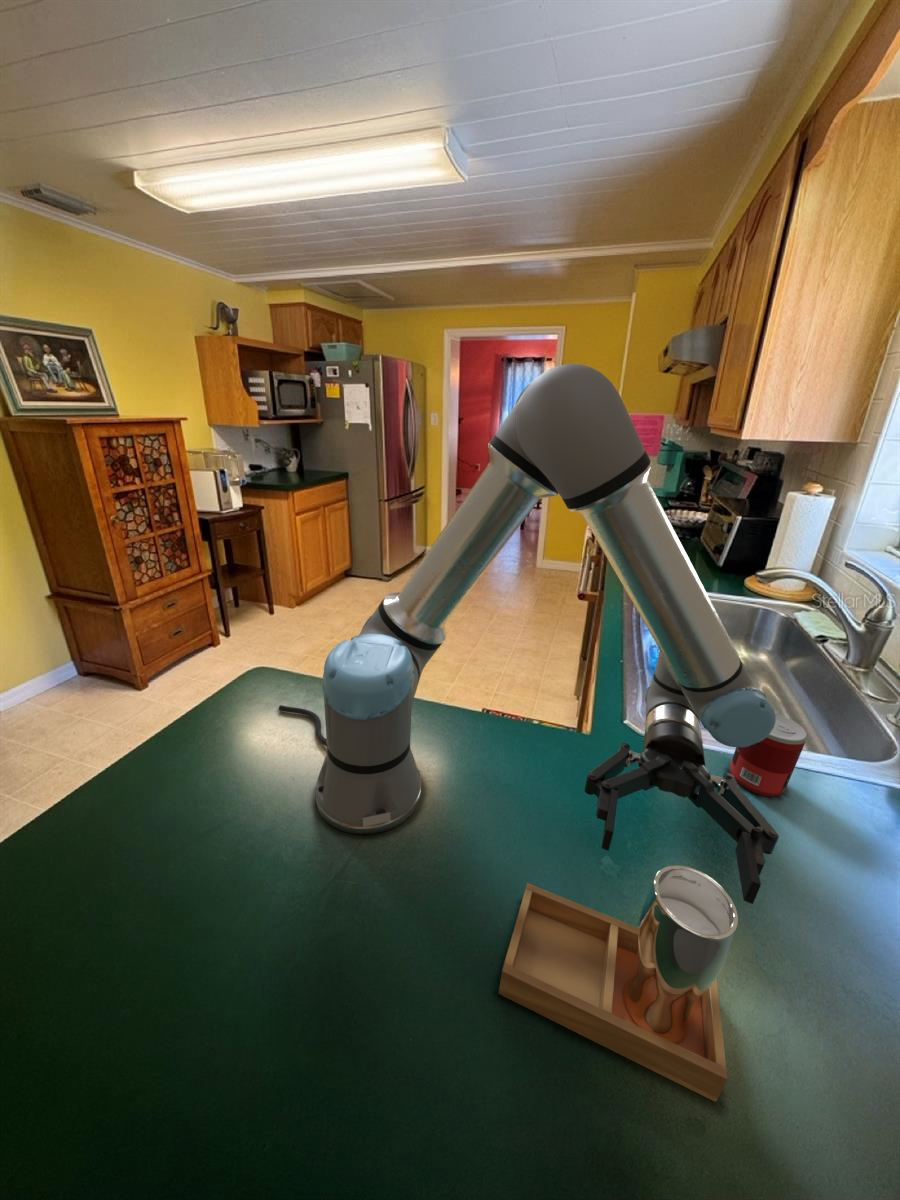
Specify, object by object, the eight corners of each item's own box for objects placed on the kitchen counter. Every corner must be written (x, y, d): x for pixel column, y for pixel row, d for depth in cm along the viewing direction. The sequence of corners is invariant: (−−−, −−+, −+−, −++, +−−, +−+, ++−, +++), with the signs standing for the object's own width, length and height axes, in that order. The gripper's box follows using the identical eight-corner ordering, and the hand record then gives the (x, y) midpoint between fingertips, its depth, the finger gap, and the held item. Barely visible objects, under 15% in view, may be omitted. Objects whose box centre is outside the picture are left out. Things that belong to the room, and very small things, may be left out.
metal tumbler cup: (690, 1069, 41) (739, 960, 36) (610, 1016, 45) (644, 909, 39) (699, 993, 47) (742, 888, 41) (627, 951, 50) (658, 849, 45)
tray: (716, 1102, 40) (728, 1079, 39) (498, 993, 47) (501, 971, 45) (705, 981, 49) (715, 958, 47) (523, 904, 55) (527, 882, 54)
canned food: (793, 802, 73) (818, 745, 69) (737, 792, 74) (758, 735, 70) (772, 768, 80) (793, 715, 76) (721, 760, 81) (740, 706, 77)
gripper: (766, 794, 63) (808, 944, 45) (578, 738, 72) (549, 846, 54) (784, 749, 60) (836, 890, 42) (587, 697, 69) (559, 795, 51)
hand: (676, 865), depth 48 cm, fingers open, 13 cm apart
